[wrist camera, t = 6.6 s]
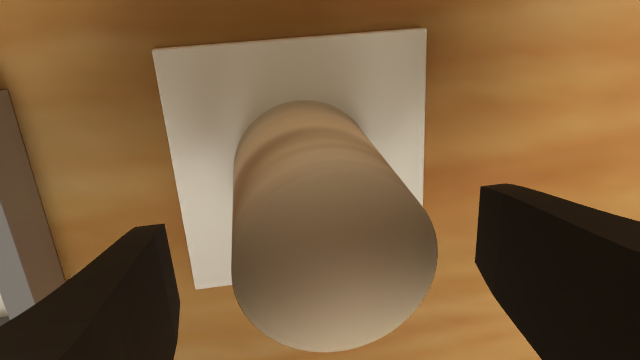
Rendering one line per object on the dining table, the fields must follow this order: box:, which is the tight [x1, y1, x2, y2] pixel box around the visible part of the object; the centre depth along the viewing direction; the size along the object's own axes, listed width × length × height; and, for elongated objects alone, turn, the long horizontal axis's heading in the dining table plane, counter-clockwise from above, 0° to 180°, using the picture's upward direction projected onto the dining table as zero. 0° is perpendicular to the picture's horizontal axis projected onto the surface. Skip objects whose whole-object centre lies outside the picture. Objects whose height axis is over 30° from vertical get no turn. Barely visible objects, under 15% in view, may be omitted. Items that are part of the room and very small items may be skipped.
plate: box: [152, 28, 427, 290], centre depth 16 cm, size 8×8×1 cm
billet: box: [231, 100, 438, 352], centre depth 13 cm, size 4×4×6 cm
